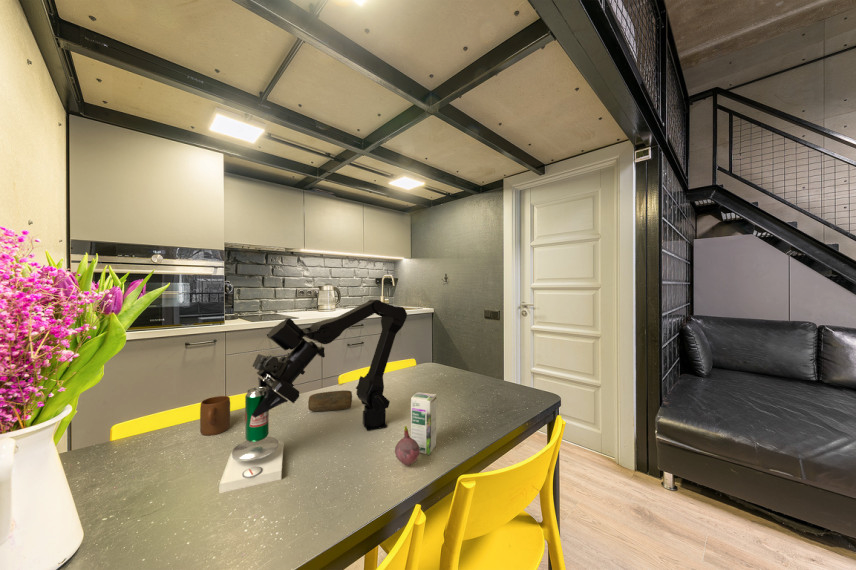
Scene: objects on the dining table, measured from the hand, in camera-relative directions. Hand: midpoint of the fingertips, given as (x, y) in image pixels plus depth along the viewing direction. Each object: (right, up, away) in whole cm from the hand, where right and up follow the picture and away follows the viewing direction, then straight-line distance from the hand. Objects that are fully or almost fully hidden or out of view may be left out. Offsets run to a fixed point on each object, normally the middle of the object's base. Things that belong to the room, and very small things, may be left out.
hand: (251, 412), depth 75 cm
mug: (-21, -14, +17) cm, 31 cm away
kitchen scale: (+1, -13, -1) cm, 13 cm away
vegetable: (+38, -14, +1) cm, 41 cm away
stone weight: (+8, -14, +36) cm, 39 cm away
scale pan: (+1, -11, +1) cm, 11 cm away
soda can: (+1, -7, +1) cm, 7 cm away
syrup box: (+42, -14, +9) cm, 46 cm away
